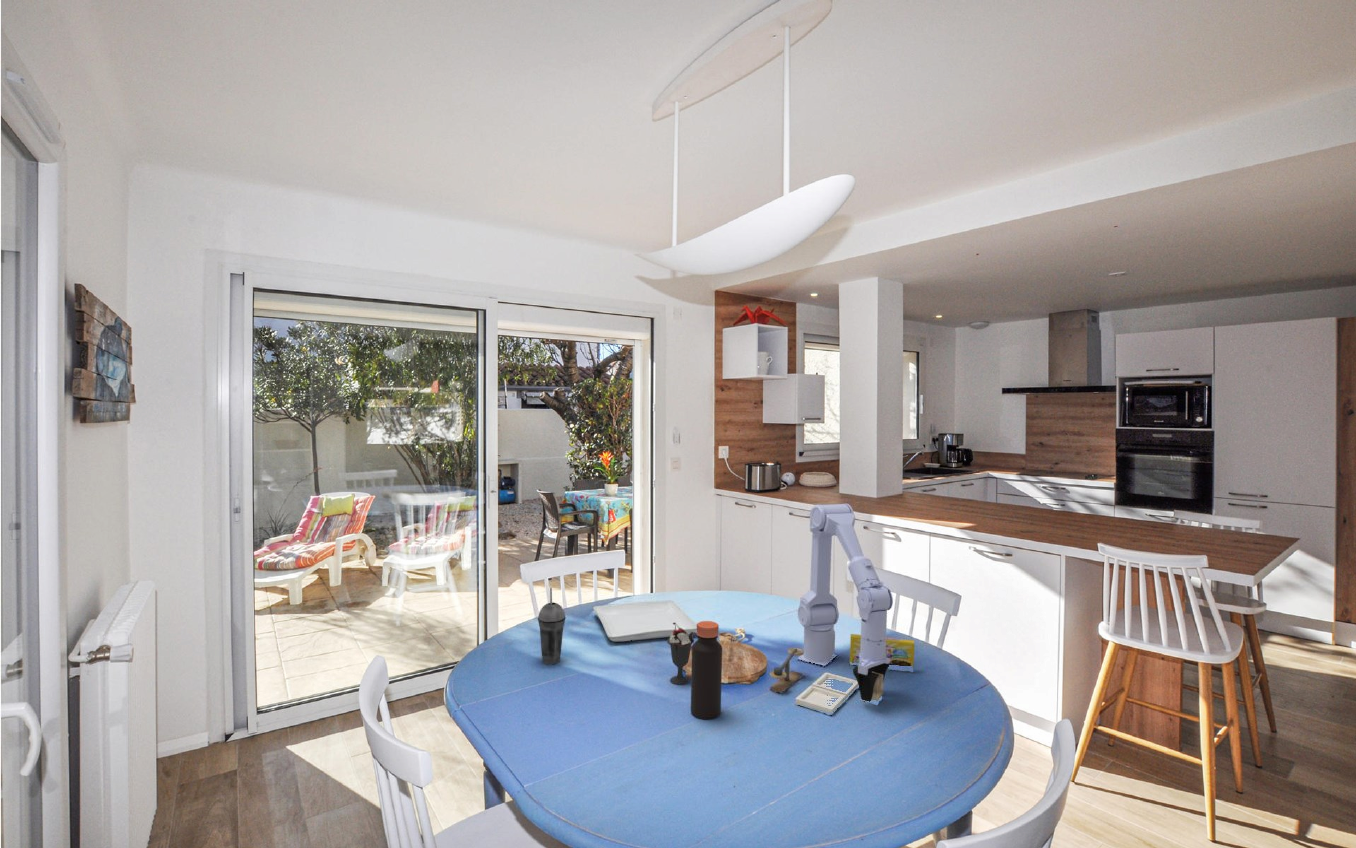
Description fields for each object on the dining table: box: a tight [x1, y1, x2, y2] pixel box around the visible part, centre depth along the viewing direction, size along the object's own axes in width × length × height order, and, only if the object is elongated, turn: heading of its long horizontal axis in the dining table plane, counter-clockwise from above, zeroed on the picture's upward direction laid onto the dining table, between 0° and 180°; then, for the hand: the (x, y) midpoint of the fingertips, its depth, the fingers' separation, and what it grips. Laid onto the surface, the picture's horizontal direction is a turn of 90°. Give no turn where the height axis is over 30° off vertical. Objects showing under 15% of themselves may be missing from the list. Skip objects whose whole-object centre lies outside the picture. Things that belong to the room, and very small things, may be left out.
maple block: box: [859, 672, 884, 701], centre depth 153 cm, size 4×4×6 cm
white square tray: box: [811, 672, 858, 698], centre depth 158 cm, size 9×9×2 cm
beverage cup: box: [537, 587, 566, 665], centre depth 171 cm, size 7×7×20 cm
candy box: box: [849, 633, 915, 666], centre depth 171 cm, size 16×2×8 cm, turn 76°
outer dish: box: [794, 685, 846, 714], centre depth 150 cm, size 9×9×2 cm
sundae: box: [666, 623, 695, 686], centre depth 161 cm, size 7×7×15 cm
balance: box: [769, 647, 804, 694], centre depth 161 cm, size 14×4×7 cm, turn 145°
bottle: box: [690, 620, 723, 720], centre depth 145 cm, size 7×7×20 cm
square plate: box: [592, 599, 697, 643], centre depth 199 cm, size 27×27×4 cm
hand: (871, 694), depth 153 cm, fingers open, 7 cm apart
